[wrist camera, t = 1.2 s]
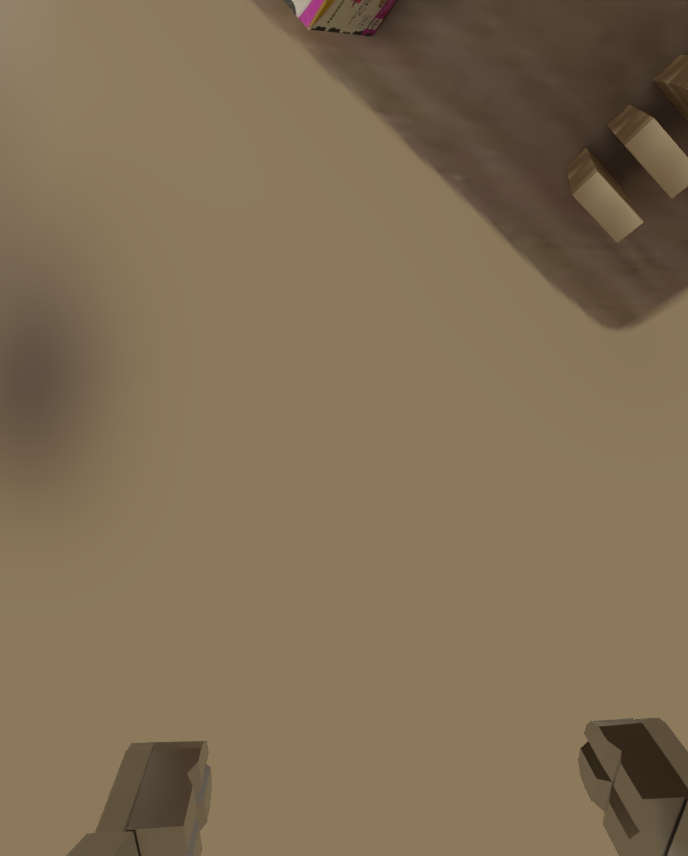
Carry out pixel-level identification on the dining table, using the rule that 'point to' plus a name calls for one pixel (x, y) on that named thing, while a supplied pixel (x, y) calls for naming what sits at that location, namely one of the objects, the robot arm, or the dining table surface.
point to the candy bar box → (342, 14)
